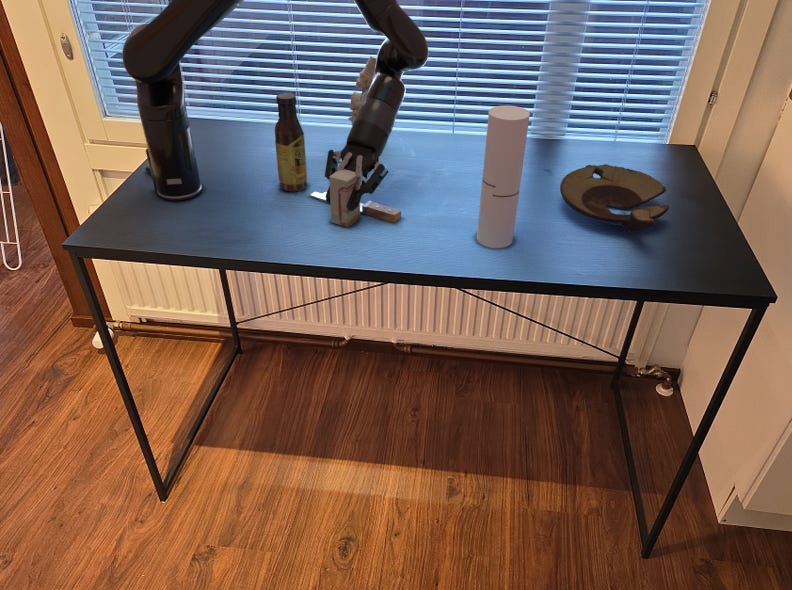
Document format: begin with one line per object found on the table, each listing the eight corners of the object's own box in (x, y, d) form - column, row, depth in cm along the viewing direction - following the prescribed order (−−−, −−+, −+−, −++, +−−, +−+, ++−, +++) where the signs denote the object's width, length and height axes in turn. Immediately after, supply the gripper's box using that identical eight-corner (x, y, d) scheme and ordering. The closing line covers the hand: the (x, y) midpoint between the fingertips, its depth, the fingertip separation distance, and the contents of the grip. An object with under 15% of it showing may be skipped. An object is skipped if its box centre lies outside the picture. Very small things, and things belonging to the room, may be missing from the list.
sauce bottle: (302, 194, 146) (294, 102, 133) (275, 191, 147) (265, 100, 134) (311, 181, 151) (304, 92, 138) (285, 179, 152) (276, 89, 139)
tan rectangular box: (348, 228, 135) (346, 181, 128) (330, 223, 136) (327, 176, 130) (362, 217, 138) (360, 171, 132) (344, 212, 140) (342, 167, 133)
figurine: (383, 135, 172) (382, 54, 159) (384, 148, 166) (384, 64, 153) (349, 136, 172) (345, 54, 159) (349, 149, 165) (345, 64, 152)
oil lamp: (662, 193, 149) (671, 160, 144) (666, 260, 127) (678, 224, 122) (561, 180, 153) (567, 148, 148) (548, 243, 131) (555, 208, 126)
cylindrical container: (489, 226, 136) (503, 102, 120) (519, 238, 132) (537, 111, 116) (469, 239, 132) (480, 113, 116) (499, 252, 128) (515, 123, 112)
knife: (309, 197, 145) (308, 188, 144) (318, 191, 147) (318, 183, 146) (393, 224, 136) (393, 215, 135) (401, 218, 138) (402, 209, 137)
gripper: (335, 111, 133) (302, 189, 133) (395, 126, 127) (360, 208, 127) (351, 129, 139) (320, 203, 139) (409, 144, 134) (376, 222, 134)
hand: (339, 205), depth 133 cm, fingers closed on tan rectangular box, 4 cm apart
